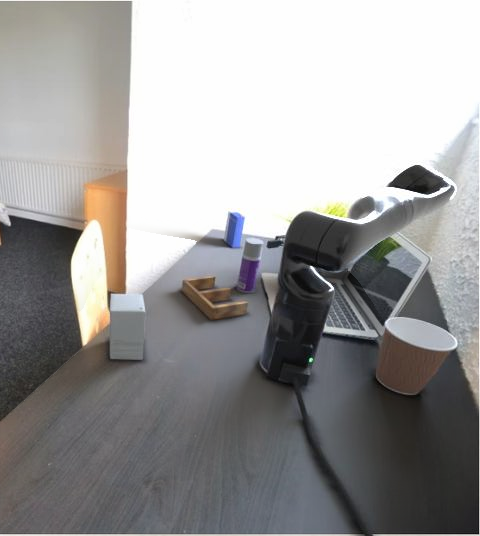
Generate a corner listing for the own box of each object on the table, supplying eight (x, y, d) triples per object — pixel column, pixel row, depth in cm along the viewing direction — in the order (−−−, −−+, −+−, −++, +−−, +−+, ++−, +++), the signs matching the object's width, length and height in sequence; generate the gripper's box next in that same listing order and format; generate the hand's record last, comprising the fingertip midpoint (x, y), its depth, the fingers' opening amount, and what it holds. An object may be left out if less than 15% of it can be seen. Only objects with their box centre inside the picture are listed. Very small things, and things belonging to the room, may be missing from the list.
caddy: (211, 320, 95) (213, 308, 93) (181, 290, 109) (182, 279, 107) (246, 314, 97) (248, 302, 95) (212, 286, 111) (213, 275, 109)
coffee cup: (446, 402, 69) (475, 349, 64) (389, 402, 69) (413, 350, 64) (403, 364, 78) (425, 316, 73) (353, 365, 78) (372, 316, 73)
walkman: (239, 247, 136) (245, 216, 131) (232, 247, 136) (237, 216, 131) (230, 239, 143) (235, 209, 138) (223, 240, 143) (228, 209, 138)
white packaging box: (141, 340, 87) (144, 293, 82) (142, 361, 81) (146, 311, 75) (109, 339, 88) (110, 292, 83) (108, 359, 82) (109, 310, 76)
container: (255, 293, 106) (265, 244, 100) (238, 292, 107) (247, 243, 100) (252, 285, 110) (261, 238, 104) (235, 284, 111) (243, 237, 105)
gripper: (309, 223, 114) (263, 229, 111) (350, 240, 102) (300, 247, 98) (303, 246, 117) (258, 252, 114) (342, 265, 105) (293, 273, 101)
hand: (277, 250), depth 106 cm, fingers open, 8 cm apart
